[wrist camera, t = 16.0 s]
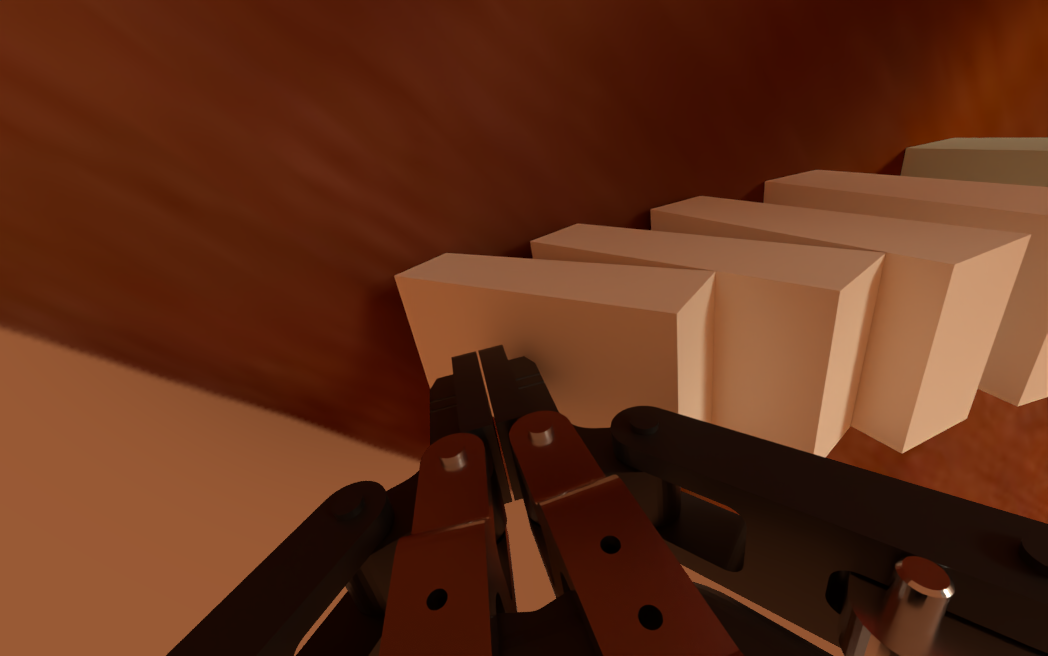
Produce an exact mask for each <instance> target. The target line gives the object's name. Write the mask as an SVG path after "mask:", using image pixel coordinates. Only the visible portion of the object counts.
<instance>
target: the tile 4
mask: <svg viewBox="0 0 1048 656" xmlns="http://www.w3.org/2000/svg"><path fill="white" fill-rule="evenodd" d="M763 203H768V204H776V205H785V206H794V207H802V208H811V209H819V210H828V211H836V212H845V213H853V214H862V215H871V216H879V217H888V218H896V219H905V220H913V221H922V222H930V223H939V224H948V225H956V226H965V227H973V228H982V229H990V230H999V231H1008V232H1016V233H1025V234H1031V237H1030V240H1029V243H1028V245H1027V248H1026V251H1025V254H1024V257H1023V260H1022V263H1021V265H1020V268H1019V271H1018V274H1017V277H1016V280H1015V283H1014V285H1013V288H1012V291H1011V294H1010V297H1009V300H1008V303H1007V305H1006V308H1005V311H1004V314H1003V317H1002V320H1001V323H1000V325H999V328H998V331H997V334H996V337H995V340H994V343H993V345H992V348H991V351H990V354H989V357H988V360H987V362H986V365H985V368H984V371H983V374H982V377H981V380H980V382H979V385H978V389H980V390H982V391H984V392H986V393H989V394H991V395H993V396H995V397H998V398H1000V399H1002V400H1004V401H1006V402H1009V403H1011V404H1013V405H1015V406H1021V405H1024V404H1027V403H1030V402H1033V401H1036V400H1040V399H1043V398H1046V397H1048V187H1041V186H1027V185H1014V184H1001V183H987V182H974V181H961V180H948V179H934V178H921V177H908V176H895V175H881V174H868V173H855V172H841V171H828V170H813V171H808V172H804V173H799V174H795V175H790V176H786V177H781V178H777V179H772V180H768V181H765V186H764V200H763Z"/></svg>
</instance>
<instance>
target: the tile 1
mask: <svg viewBox="0 0 1048 656" xmlns="http://www.w3.org/2000/svg"><path fill="white" fill-rule="evenodd" d="M715 274H716V271H704V270H690V269H675V268H660V267H646V266H631V265H616V264H601V263H587V262H572V261H557V260H543V259H528V258H513V257H499V256H484V255H469V254H455V253H445V254H443V255H440V256H438V257H436V258H434V259H431V260H429V261H427V262H424V263H422V264H420V265H418V266H415V267H413V268H411V269H408V270H406V271H404V272H402V273H399V274H397V275H395V276H394V277H395V281H396V284H397V287H398V290H399V293H400V296H401V299H402V302H403V306H404V309H405V312H406V315H407V318H408V321H409V324H410V327H411V331H412V334H413V337H414V340H415V343H416V346H417V349H418V352H419V356H420V359H421V362H422V365H423V368H424V371H425V374H426V377H427V380H428V384H429V387H430V389H431V387H432V386H433V384H434V382H435V381H436V379H437V378H440V377H444V376H448V375H452V374H453V368H452V359H451V357H454V356H458V355H462V354H466V353H470V352H474V351H476V353H477V357H478V361H479V365H480V369H481V373H482V377H483V381H484V385H485V389H486V393H487V397H488V401H489V405H490V409H491V413H492V416H493V417H494V414H493V410H492V406H491V402H490V397H489V393H488V389H487V385H486V381H485V377H484V373H483V369H482V364H481V360H480V356H479V352H478V350H482V349H486V348H490V347H494V346H498V345H503V348H504V350H505V353H506V356H507V358H508V360H511V359H515V358H518V357H522V356H525V357H526V358H528V359H530V360H531V361H533V362H535V364H536V366H537V368H538V370H539V372H540V375H541V376H542V378H543V380H544V383H545V384H546V386H547V388H548V390H549V393H550V395H551V397H552V399H553V401H554V403H555V405H556V407H557V409H558V411H559V413H561V414H562V415H564V416H566V417H567V418H568V419H569V421H570V422H571V424H573V425H576V426H579V427H584V428H610V427H611V422H612V419H613V418H614V417H615V416H616V415H617V414H618V413H619V412H621V411H622V410H625V409H627V408H630V407H635V406H653V407H657V408H661V409H664V410H668V411H671V412H674V413H678V414H681V415H684V416H688V417H691V418H694V419H698V420H701V421H704V422H708V423H712V386H713V348H714V311H715Z"/></svg>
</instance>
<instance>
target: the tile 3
mask: <svg viewBox="0 0 1048 656" xmlns="http://www.w3.org/2000/svg"><path fill="white" fill-rule="evenodd" d="M650 212H651V230H652V231H662V232H673V233H683V234H694V235H704V236H714V237H725V238H735V239H746V240H756V241H767V242H777V243H788V244H798V245H809V246H819V247H830V248H840V249H851V250H861V251H872V252H882V253H886V255H885V260H884V265H883V269H882V274H881V279H880V284H879V289H878V294H877V299H876V304H875V308H874V313H873V318H872V323H871V328H870V333H869V338H868V343H867V347H866V352H865V357H864V362H863V367H862V372H861V377H860V382H859V386H858V391H857V396H856V401H855V406H854V411H853V416H852V421H851V425H850V426H852V427H854V428H856V429H858V430H859V431H861V432H863V433H865V434H867V435H869V436H870V437H872V438H874V439H876V440H878V441H880V442H882V443H883V444H885V445H887V446H889V447H891V448H893V449H894V450H896V451H898V452H900V453H904V452H906V451H907V450H909V449H911V448H913V447H915V446H917V445H919V444H920V443H922V442H924V441H926V440H928V439H930V438H931V437H933V436H935V435H937V434H939V433H941V432H943V431H944V430H946V429H948V428H950V427H952V426H954V425H956V424H957V423H959V422H961V421H963V420H965V419H967V417H968V414H969V411H970V408H971V405H972V402H973V400H974V397H975V394H976V391H977V388H978V385H979V382H980V380H981V377H982V374H983V371H984V368H985V365H986V362H987V360H988V357H989V354H990V351H991V348H992V345H993V343H994V340H995V337H996V334H997V331H998V328H999V325H1000V323H1001V320H1002V317H1003V314H1004V311H1005V308H1006V305H1007V303H1008V300H1009V297H1010V294H1011V291H1012V288H1013V285H1014V283H1015V280H1016V277H1017V274H1018V271H1019V268H1020V265H1021V263H1022V260H1023V257H1024V254H1025V251H1026V248H1027V245H1028V243H1029V240H1030V237H1031V234H1025V233H1016V232H1008V231H999V230H990V229H982V228H973V227H965V226H956V225H948V224H939V223H930V222H922V221H913V220H905V219H896V218H888V217H879V216H871V215H862V214H853V213H845V212H836V211H828V210H819V209H811V208H802V207H794V206H785V205H776V204H768V203H759V202H751V201H742V200H734V199H725V198H716V197H708V196H698V197H694V198H690V199H687V200H683V201H679V202H675V203H672V204H668V205H664V206H661V207H657V208H653V209H650Z"/></svg>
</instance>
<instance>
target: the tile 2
mask: <svg viewBox="0 0 1048 656" xmlns="http://www.w3.org/2000/svg"><path fill="white" fill-rule="evenodd" d="M530 245H531V251H532V257H533V259H543V260H557V261H572V262H587V263H601V264H616V265H631V266H646V267H660V268H675V269H690V270H704V271H716V274H715V311H714V348H713V386H712V423H711V424H714V425H718V426H721V427H725V428H728V429H731V430H735V431H738V432H741V433H745V434H748V435H751V436H755V437H758V438H761V439H765V440H768V441H771V442H775V443H778V444H781V445H785V446H788V447H791V448H795V449H798V450H802V451H805V452H808V453H812V454H815V455H818V456H822V457H826V456H827V455H828V454H829V452H830V451H831V450H832V449H833V447H834V446H835V445H836V444H837V442H838V441H839V440H840V439H841V437H842V436H843V435H844V434H845V432H846V431H847V430H848V429H849V427H850V425H851V421H852V416H853V411H854V406H855V401H856V396H857V391H858V386H859V382H860V377H861V372H862V367H863V362H864V357H865V352H866V347H867V343H868V338H869V333H870V328H871V323H872V318H873V313H874V308H875V304H876V299H877V294H878V289H879V284H880V279H881V274H882V269H883V265H884V260H885V255H886V253H882V252H872V251H861V250H851V249H840V248H830V247H819V246H809V245H798V244H788V243H777V242H767V241H756V240H746V239H735V238H725V237H714V236H704V235H694V234H683V233H673V232H662V231H652V230H641V229H631V228H620V227H610V226H599V225H589V224H575V225H572V226H569V227H567V228H564V229H561V230H559V231H556V232H553V233H551V234H548V235H545V236H543V237H540V238H537V239H535V240H532V241H530Z"/></svg>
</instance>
